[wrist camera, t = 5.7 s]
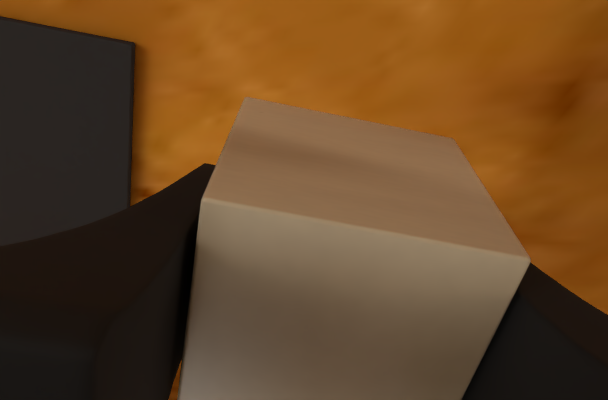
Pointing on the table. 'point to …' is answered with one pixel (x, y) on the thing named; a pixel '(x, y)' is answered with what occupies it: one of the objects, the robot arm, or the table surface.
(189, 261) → the robot arm
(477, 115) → the table surface
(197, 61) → the table surface
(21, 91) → the mat
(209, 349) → the top cube
